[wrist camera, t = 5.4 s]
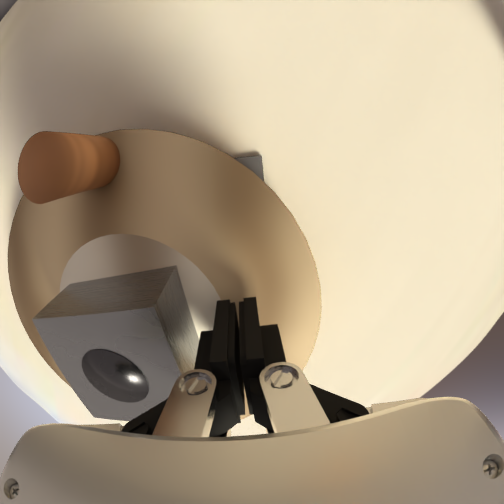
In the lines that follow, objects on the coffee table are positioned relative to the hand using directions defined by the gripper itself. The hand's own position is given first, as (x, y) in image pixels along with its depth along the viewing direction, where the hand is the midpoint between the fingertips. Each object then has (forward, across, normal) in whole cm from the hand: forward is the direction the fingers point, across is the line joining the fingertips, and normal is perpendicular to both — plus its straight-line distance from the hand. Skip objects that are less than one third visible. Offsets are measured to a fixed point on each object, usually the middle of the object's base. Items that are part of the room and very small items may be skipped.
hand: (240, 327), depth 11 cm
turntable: (+4, +5, 0) cm, 6 cm away
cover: (+1, +5, 0) cm, 5 cm away
